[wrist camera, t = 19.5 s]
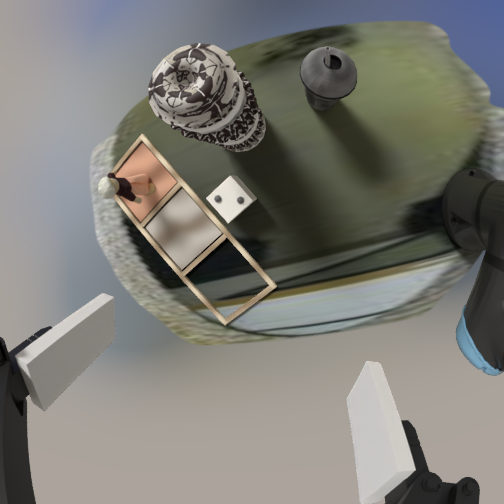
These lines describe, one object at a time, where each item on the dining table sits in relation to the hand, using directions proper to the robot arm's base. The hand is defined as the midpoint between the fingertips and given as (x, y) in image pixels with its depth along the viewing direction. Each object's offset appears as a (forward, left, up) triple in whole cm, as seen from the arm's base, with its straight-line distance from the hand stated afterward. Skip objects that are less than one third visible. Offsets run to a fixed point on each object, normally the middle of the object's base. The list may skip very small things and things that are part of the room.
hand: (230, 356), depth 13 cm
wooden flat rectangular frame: (+15, +7, -35) cm, 38 cm away
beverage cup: (+2, -23, -35) cm, 42 cm away
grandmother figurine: (+25, +2, -35) cm, 43 cm away
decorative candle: (+12, -13, -35) cm, 39 cm away
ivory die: (+8, -2, -35) cm, 36 cm away
